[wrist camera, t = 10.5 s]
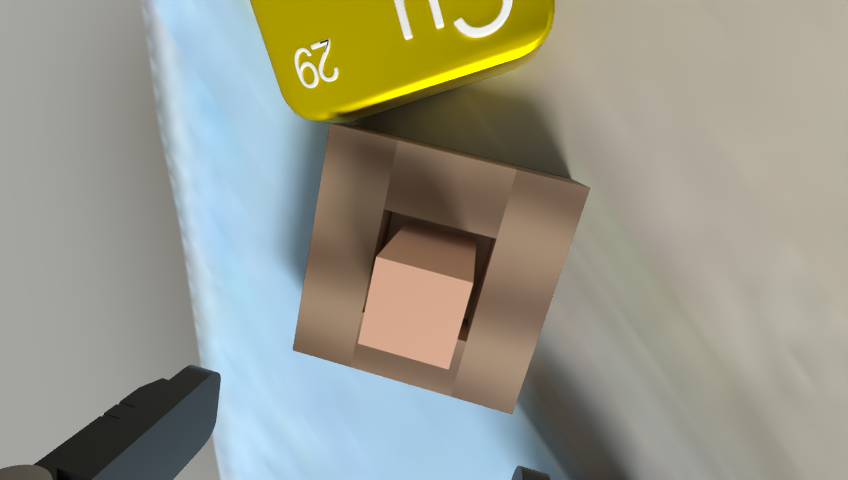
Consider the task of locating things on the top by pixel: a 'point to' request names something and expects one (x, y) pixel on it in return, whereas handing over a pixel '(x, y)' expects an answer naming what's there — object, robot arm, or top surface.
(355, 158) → the walnut base
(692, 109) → the top surface
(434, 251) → the terracotta peg
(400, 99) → the element tile
